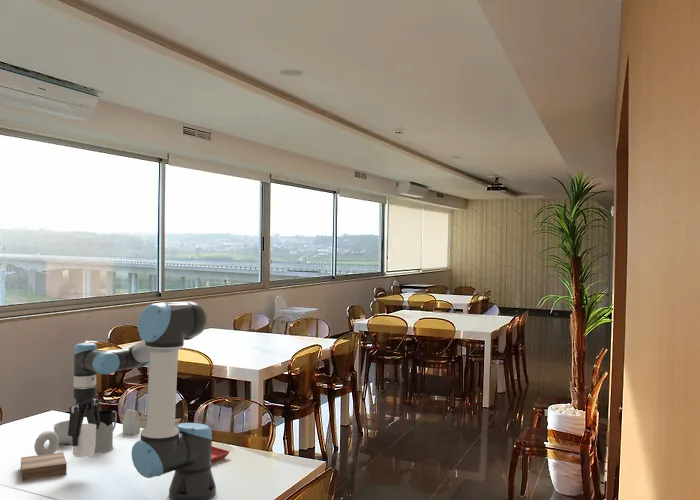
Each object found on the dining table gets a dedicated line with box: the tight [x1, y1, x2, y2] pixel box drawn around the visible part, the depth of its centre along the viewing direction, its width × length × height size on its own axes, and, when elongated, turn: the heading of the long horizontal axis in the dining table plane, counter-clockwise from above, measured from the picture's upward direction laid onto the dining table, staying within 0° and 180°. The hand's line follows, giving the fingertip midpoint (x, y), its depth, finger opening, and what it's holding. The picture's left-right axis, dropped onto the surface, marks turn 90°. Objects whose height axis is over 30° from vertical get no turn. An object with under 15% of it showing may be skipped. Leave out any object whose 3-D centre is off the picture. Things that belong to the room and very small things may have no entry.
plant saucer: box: [211, 446, 230, 464], centre depth 237 cm, size 18×18×3 cm
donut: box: [33, 430, 60, 456], centre depth 237 cm, size 10×4×10 cm, turn 155°
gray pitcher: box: [94, 409, 118, 454], centre depth 250 cm, size 9×14×15 cm, turn 170°
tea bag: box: [122, 408, 141, 436], centre depth 271 cm, size 4×7×10 cm, turn 61°
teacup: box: [53, 420, 72, 445], centre depth 258 cm, size 14×11×8 cm
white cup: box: [73, 423, 96, 458], centre depth 218 cm, size 8×8×10 cm
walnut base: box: [20, 451, 68, 482], centre depth 221 cm, size 14×14×4 cm
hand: (84, 451), depth 217 cm, fingers closed on white cup, 8 cm apart
